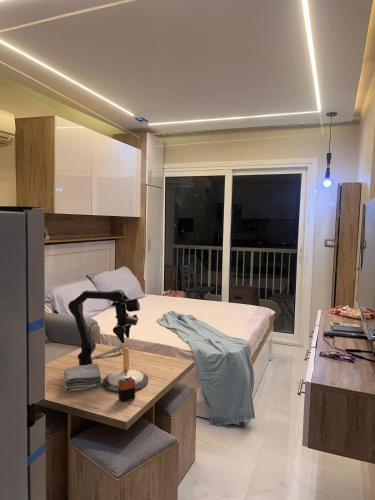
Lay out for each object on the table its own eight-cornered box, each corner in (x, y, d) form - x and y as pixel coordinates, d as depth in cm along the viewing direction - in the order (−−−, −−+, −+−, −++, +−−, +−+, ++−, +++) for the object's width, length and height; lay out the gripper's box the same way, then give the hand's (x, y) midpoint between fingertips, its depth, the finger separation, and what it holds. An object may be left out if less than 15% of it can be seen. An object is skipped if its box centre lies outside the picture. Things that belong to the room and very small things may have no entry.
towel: (63, 381, 187) (63, 366, 186) (99, 375, 193) (99, 361, 193) (65, 394, 173) (64, 378, 172) (103, 388, 179) (103, 372, 179)
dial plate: (97, 392, 174) (97, 388, 174) (109, 372, 197) (109, 369, 197) (144, 393, 173) (144, 390, 173) (151, 373, 196) (151, 370, 196)
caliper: (123, 353, 226) (123, 343, 226) (124, 353, 226) (124, 343, 225) (91, 359, 217) (90, 348, 216) (91, 359, 216) (91, 349, 215)
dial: (143, 385, 177) (143, 359, 176) (106, 387, 175) (105, 361, 174) (143, 370, 196) (143, 346, 195) (109, 372, 193) (109, 348, 192)
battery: (118, 398, 168) (118, 378, 167) (131, 395, 172) (131, 374, 171) (121, 402, 165) (121, 381, 164) (135, 398, 168) (135, 378, 167)
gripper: (130, 315, 189) (135, 344, 189) (139, 307, 207) (143, 334, 208) (110, 317, 190) (114, 346, 191) (121, 309, 209) (125, 336, 209)
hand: (125, 340), depth 200 cm, fingers open, 9 cm apart
